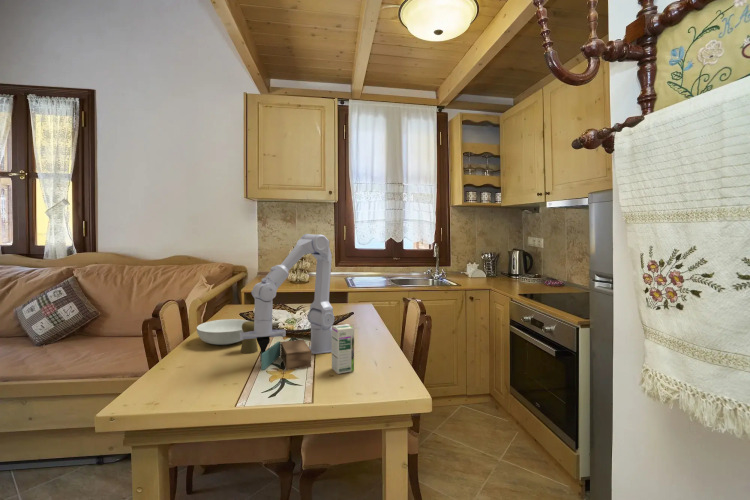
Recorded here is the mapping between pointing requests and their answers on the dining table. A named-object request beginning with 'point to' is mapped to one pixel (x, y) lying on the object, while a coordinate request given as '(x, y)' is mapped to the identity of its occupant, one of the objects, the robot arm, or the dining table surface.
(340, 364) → the syrup box
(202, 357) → the dining table surface
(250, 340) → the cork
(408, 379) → the dining table surface
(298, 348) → the walnut cabinet
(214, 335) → the serving bowl
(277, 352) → the teal door
